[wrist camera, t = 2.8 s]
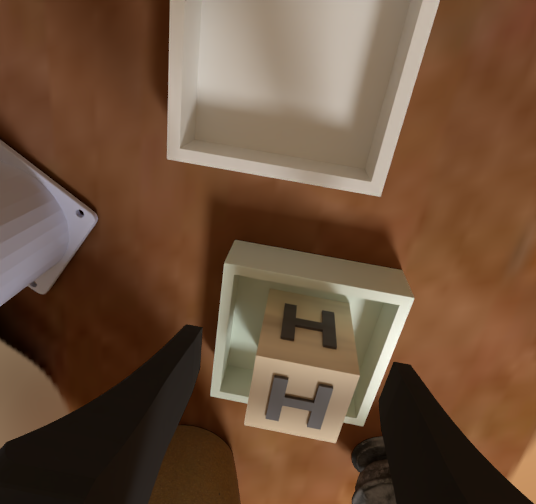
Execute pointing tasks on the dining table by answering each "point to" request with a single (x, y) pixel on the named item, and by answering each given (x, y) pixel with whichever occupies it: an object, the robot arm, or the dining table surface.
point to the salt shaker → (372, 473)
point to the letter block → (303, 367)
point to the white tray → (294, 86)
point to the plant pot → (196, 470)
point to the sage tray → (312, 284)
